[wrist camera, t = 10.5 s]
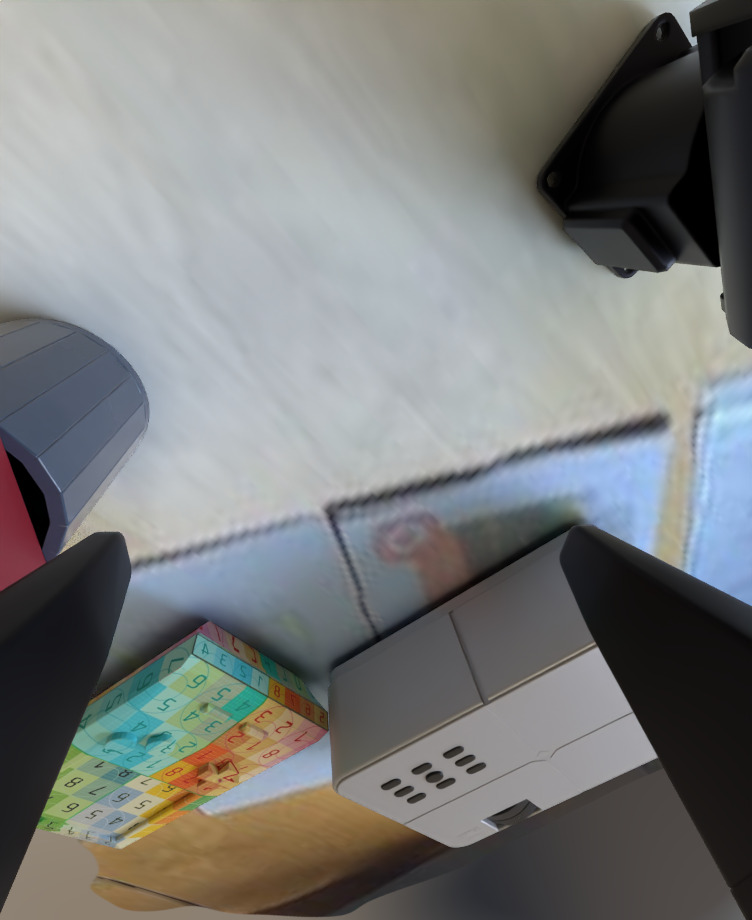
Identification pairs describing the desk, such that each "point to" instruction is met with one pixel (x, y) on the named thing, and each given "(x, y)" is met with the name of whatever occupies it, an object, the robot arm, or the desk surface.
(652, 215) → the robot arm
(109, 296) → the desk surface
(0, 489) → the red rectangular block
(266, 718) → the puzzle game
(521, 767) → the projector
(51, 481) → the mug
